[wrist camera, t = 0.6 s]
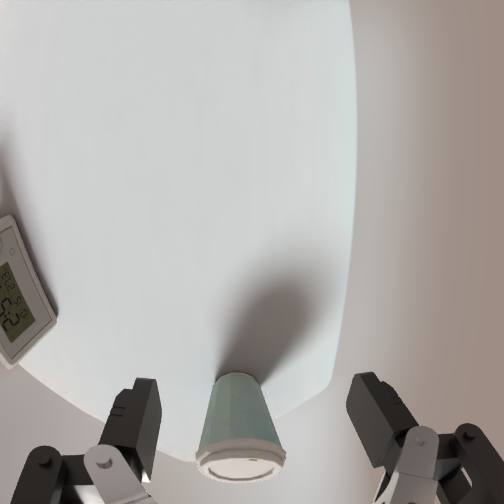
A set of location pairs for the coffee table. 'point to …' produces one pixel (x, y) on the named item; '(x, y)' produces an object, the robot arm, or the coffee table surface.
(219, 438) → the disposable coffee cup
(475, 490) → the robot arm
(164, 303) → the coffee table surface
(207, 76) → the coffee table surface
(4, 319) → the digital clock
